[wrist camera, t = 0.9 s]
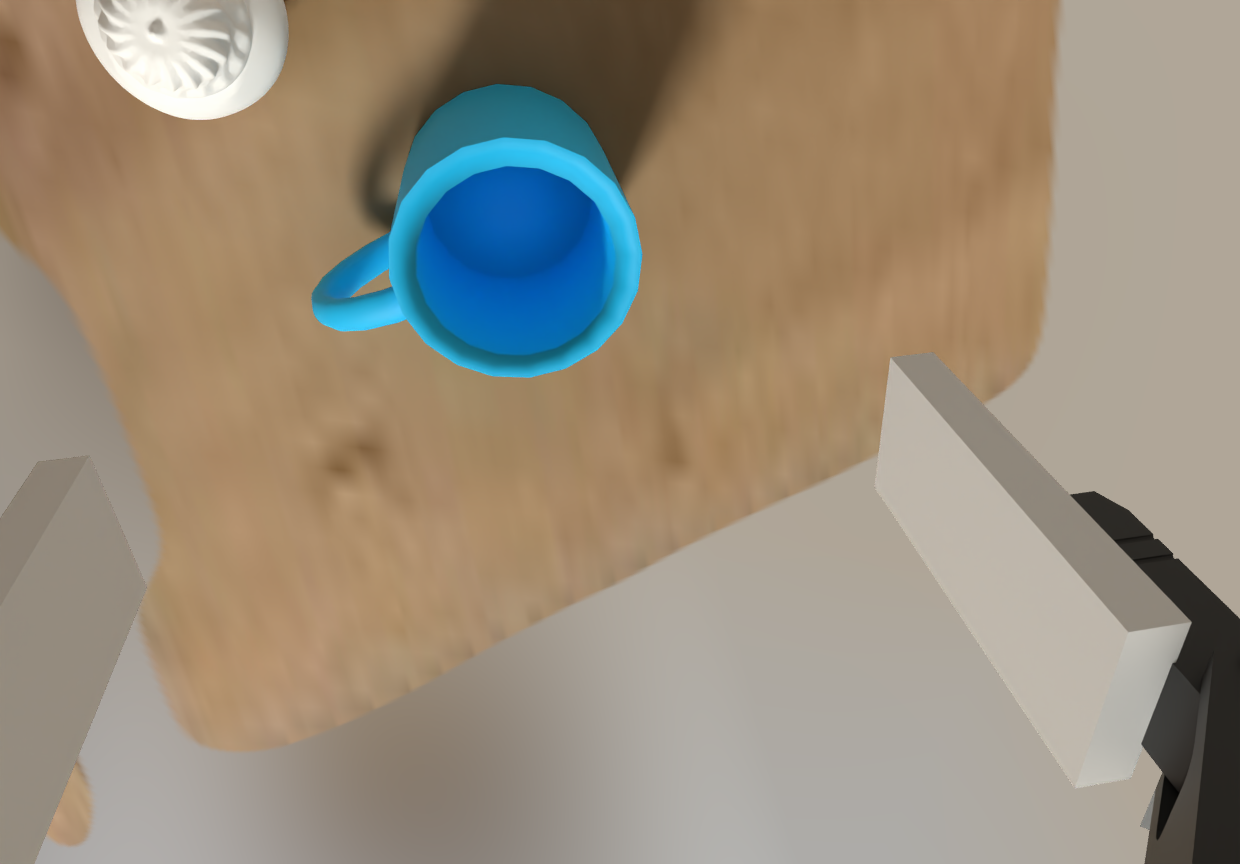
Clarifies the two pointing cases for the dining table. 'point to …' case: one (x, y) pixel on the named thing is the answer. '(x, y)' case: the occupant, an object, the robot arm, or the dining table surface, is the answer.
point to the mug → (499, 240)
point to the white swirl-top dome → (189, 51)
